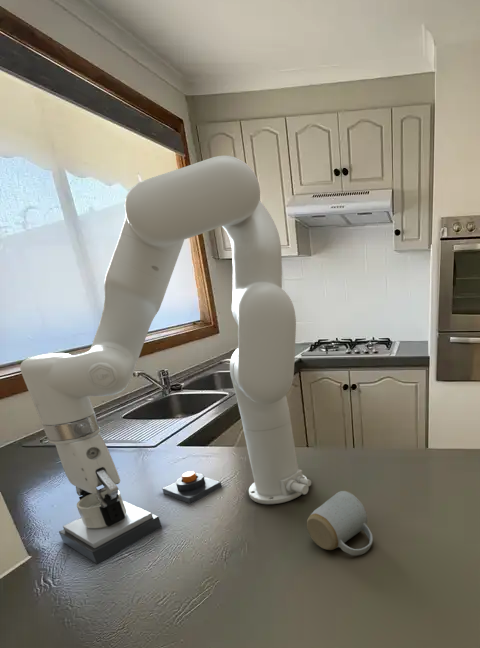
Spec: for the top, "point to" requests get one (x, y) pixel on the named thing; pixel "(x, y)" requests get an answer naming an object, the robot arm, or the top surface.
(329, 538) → the ceramic mug
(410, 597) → the top surface
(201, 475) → the pad
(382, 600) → the top surface
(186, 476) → the button
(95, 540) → the scale
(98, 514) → the white cup
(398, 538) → the top surface
